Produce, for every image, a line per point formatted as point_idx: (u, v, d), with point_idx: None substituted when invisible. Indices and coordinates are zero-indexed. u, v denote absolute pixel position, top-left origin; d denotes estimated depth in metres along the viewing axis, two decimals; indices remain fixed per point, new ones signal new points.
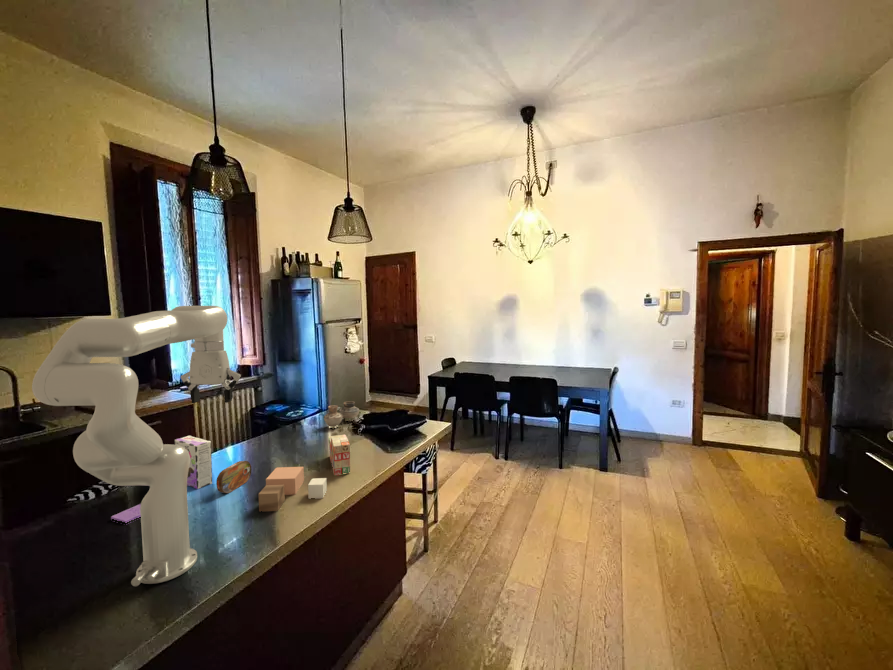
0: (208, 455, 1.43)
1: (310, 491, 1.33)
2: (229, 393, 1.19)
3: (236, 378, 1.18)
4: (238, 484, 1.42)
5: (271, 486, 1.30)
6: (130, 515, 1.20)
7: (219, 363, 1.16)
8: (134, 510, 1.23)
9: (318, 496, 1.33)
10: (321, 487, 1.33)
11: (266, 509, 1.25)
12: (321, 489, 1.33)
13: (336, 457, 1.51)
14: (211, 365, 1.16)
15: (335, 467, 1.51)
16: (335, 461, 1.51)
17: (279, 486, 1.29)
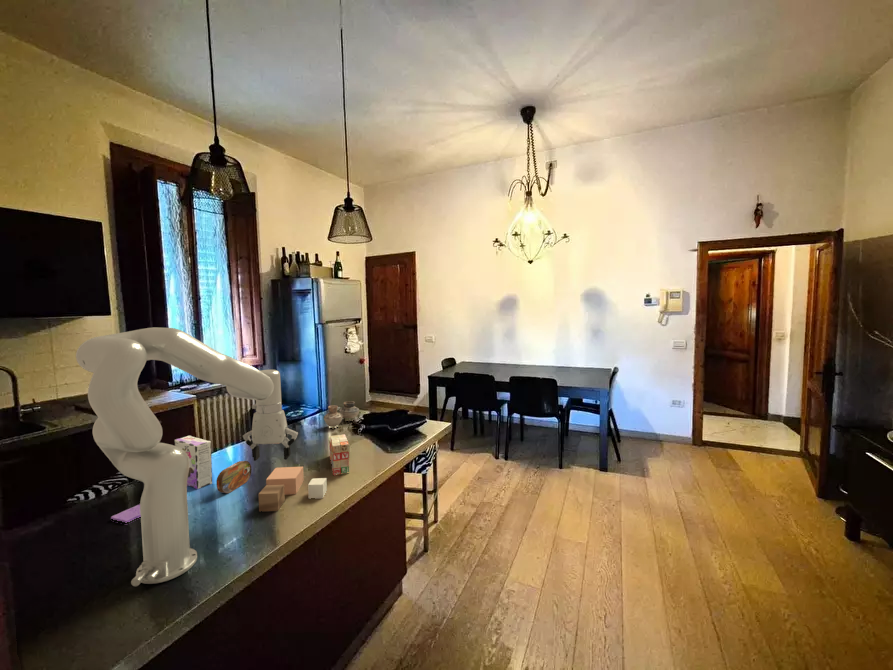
0: (208, 455, 1.43)
1: (310, 491, 1.33)
2: (288, 450, 1.27)
3: (294, 436, 1.26)
4: (238, 484, 1.42)
5: (271, 486, 1.30)
6: (130, 515, 1.20)
7: (279, 423, 1.24)
8: (134, 510, 1.23)
9: (318, 495, 1.33)
10: (321, 487, 1.33)
11: (266, 509, 1.25)
12: (321, 489, 1.33)
13: (335, 457, 1.51)
14: (272, 426, 1.23)
15: (334, 467, 1.51)
16: (334, 461, 1.51)
17: (279, 486, 1.29)
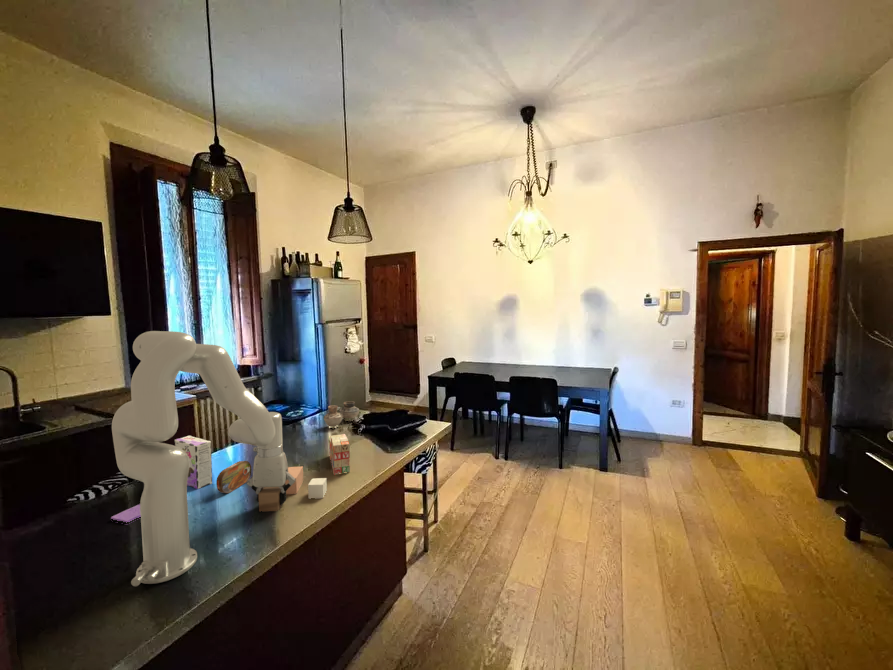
0: (208, 455, 1.43)
1: (310, 491, 1.33)
2: (283, 496, 1.27)
3: (291, 482, 1.27)
4: (238, 484, 1.42)
5: None
6: (130, 515, 1.20)
7: (280, 467, 1.25)
8: (134, 510, 1.23)
9: (318, 496, 1.33)
10: (321, 487, 1.33)
11: (266, 509, 1.25)
12: (321, 489, 1.33)
13: (336, 456, 1.51)
14: (273, 469, 1.24)
15: (335, 466, 1.51)
16: (335, 460, 1.51)
17: None
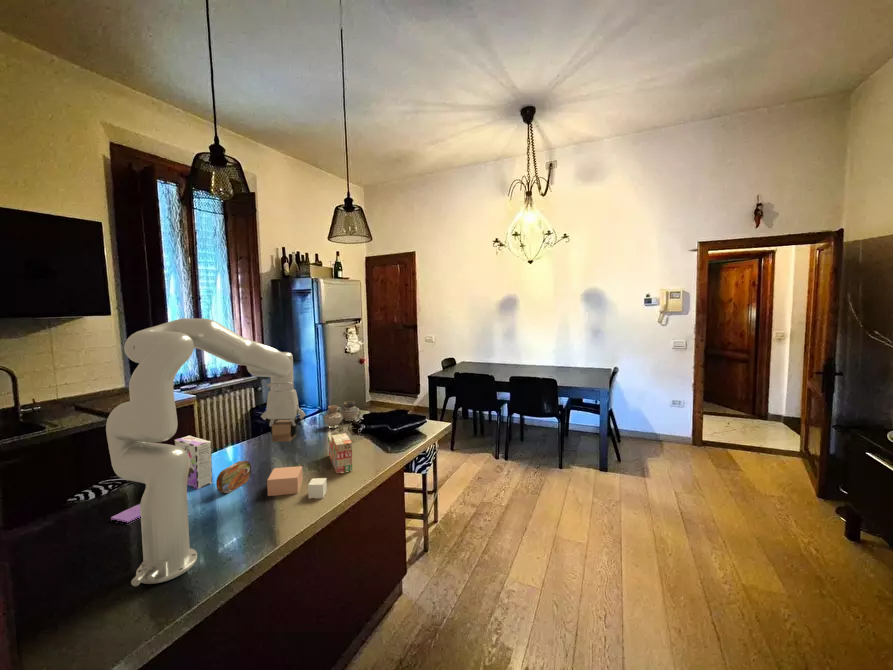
0: (208, 455, 1.43)
1: (310, 491, 1.33)
2: (294, 428, 1.39)
3: (302, 416, 1.39)
4: (238, 484, 1.42)
5: (283, 420, 1.41)
6: (130, 515, 1.20)
7: (291, 401, 1.36)
8: (133, 510, 1.23)
9: (318, 496, 1.33)
10: (321, 487, 1.33)
11: (279, 439, 1.36)
12: (321, 489, 1.33)
13: (339, 455, 1.52)
14: (285, 403, 1.36)
15: (338, 465, 1.52)
16: (338, 459, 1.52)
17: None
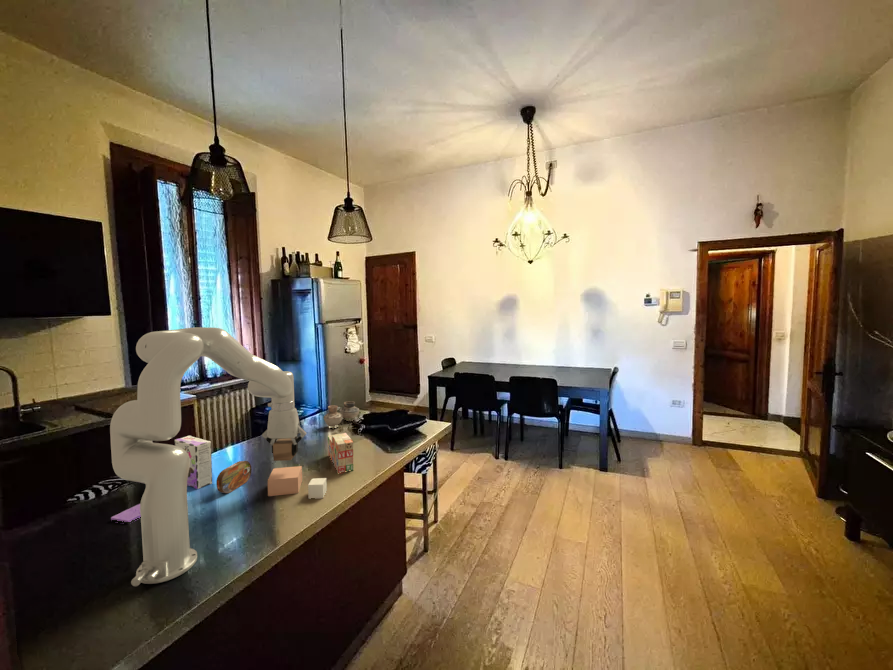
0: (208, 455, 1.43)
1: (310, 491, 1.33)
2: (295, 447, 1.39)
3: (303, 435, 1.39)
4: (238, 484, 1.42)
5: (284, 439, 1.42)
6: (130, 515, 1.20)
7: (292, 420, 1.37)
8: (133, 510, 1.23)
9: (319, 496, 1.33)
10: (321, 487, 1.33)
11: (280, 458, 1.37)
12: (321, 489, 1.33)
13: (340, 455, 1.53)
14: (286, 422, 1.36)
15: (339, 465, 1.53)
16: (339, 459, 1.53)
17: None
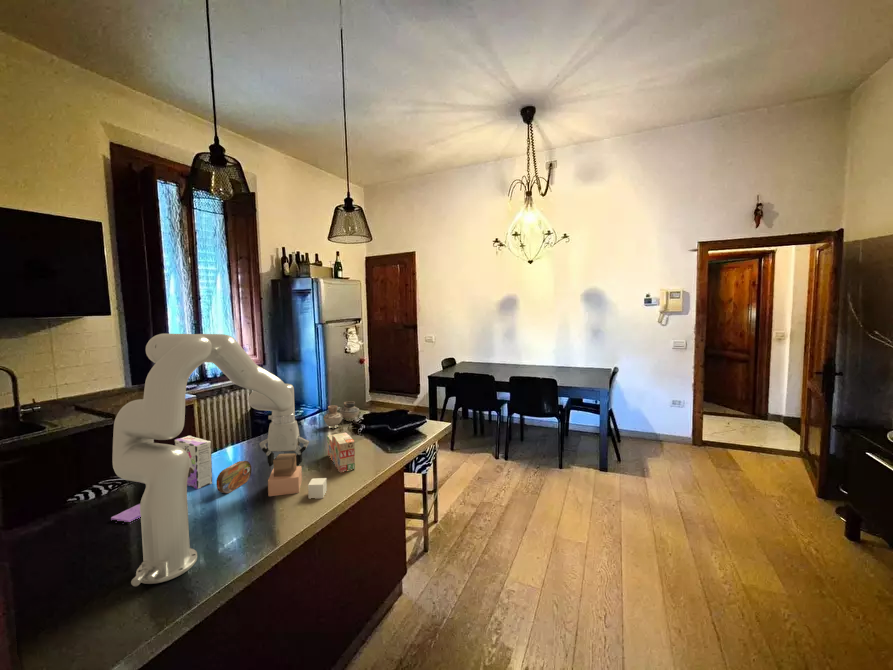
0: (208, 455, 1.43)
1: (310, 491, 1.33)
2: (300, 457, 1.40)
3: (306, 444, 1.40)
4: (238, 484, 1.42)
5: (284, 454, 1.42)
6: (131, 515, 1.20)
7: (293, 433, 1.37)
8: (133, 510, 1.23)
9: (319, 496, 1.33)
10: (321, 487, 1.33)
11: (280, 474, 1.37)
12: (321, 489, 1.33)
13: (341, 454, 1.53)
14: (286, 435, 1.37)
15: (341, 464, 1.53)
16: (341, 458, 1.53)
17: (291, 454, 1.42)
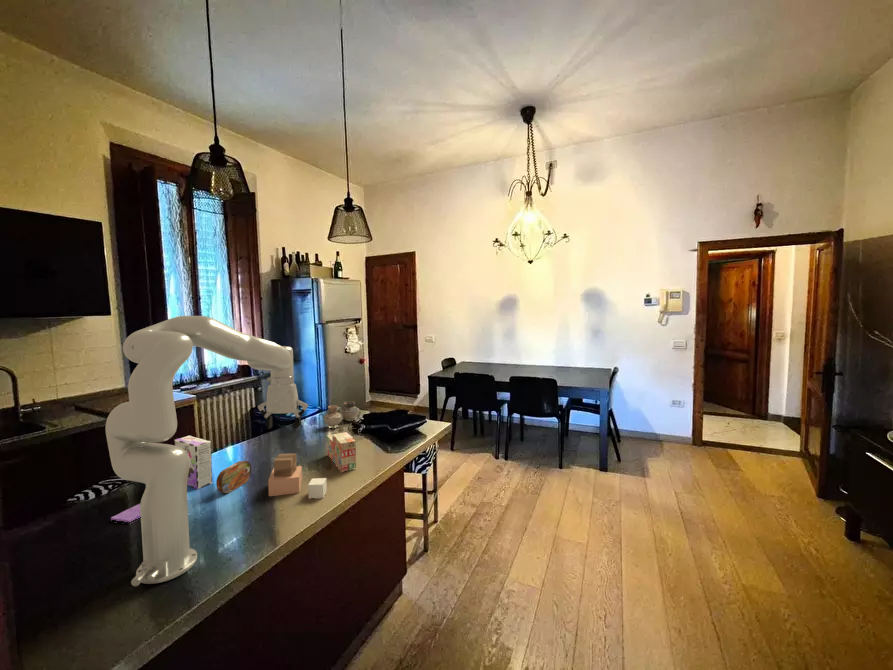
0: (208, 455, 1.43)
1: (310, 491, 1.33)
2: (298, 420, 1.38)
3: (305, 407, 1.38)
4: (238, 484, 1.42)
5: (284, 454, 1.42)
6: (131, 515, 1.20)
7: (291, 395, 1.36)
8: (133, 510, 1.23)
9: (319, 495, 1.33)
10: (321, 487, 1.33)
11: (280, 474, 1.37)
12: (321, 489, 1.33)
13: (343, 454, 1.54)
14: (285, 397, 1.36)
15: (342, 464, 1.54)
16: (342, 458, 1.54)
17: (292, 454, 1.42)
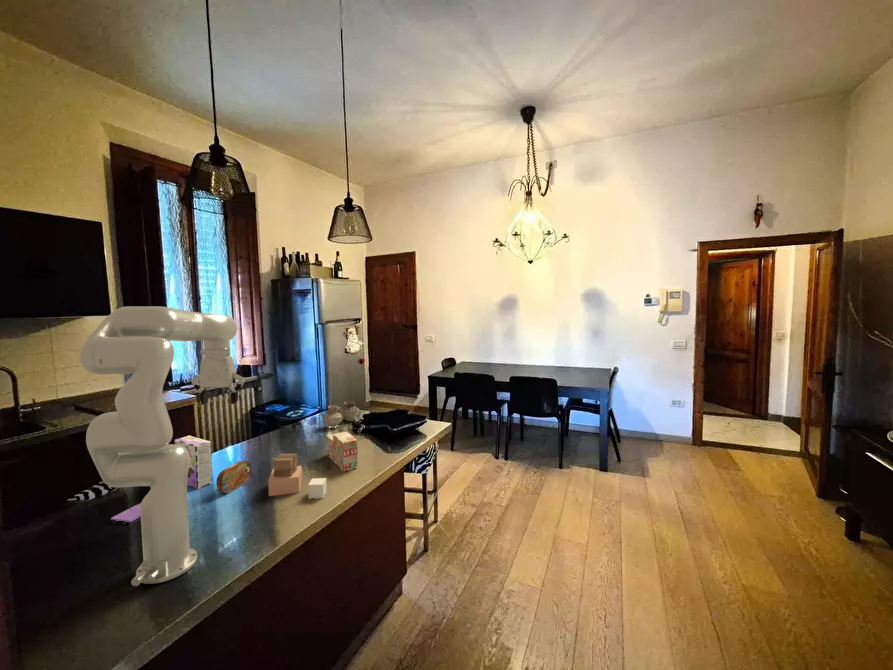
0: (208, 455, 1.43)
1: (310, 491, 1.33)
2: (235, 395, 1.31)
3: (241, 381, 1.30)
4: (238, 484, 1.42)
5: (284, 454, 1.42)
6: (131, 515, 1.20)
7: (226, 368, 1.28)
8: (133, 510, 1.23)
9: (319, 495, 1.33)
10: (321, 487, 1.33)
11: (280, 474, 1.37)
12: (321, 489, 1.33)
13: (345, 453, 1.55)
14: (219, 370, 1.28)
15: (344, 463, 1.55)
16: (344, 457, 1.55)
17: (292, 454, 1.42)
